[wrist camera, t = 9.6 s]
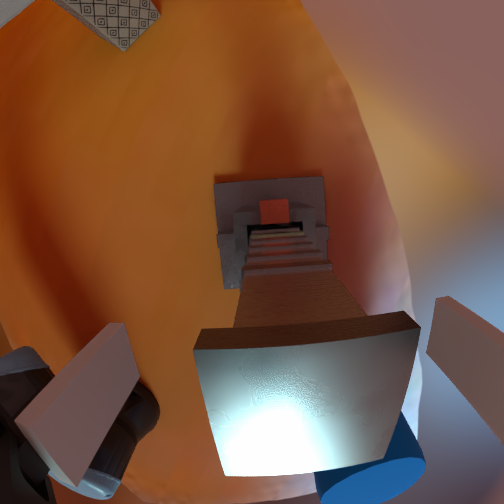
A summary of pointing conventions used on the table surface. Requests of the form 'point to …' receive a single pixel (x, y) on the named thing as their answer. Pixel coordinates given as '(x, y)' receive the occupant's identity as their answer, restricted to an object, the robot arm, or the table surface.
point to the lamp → (99, 17)
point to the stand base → (248, 218)
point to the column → (302, 366)
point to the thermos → (375, 473)
